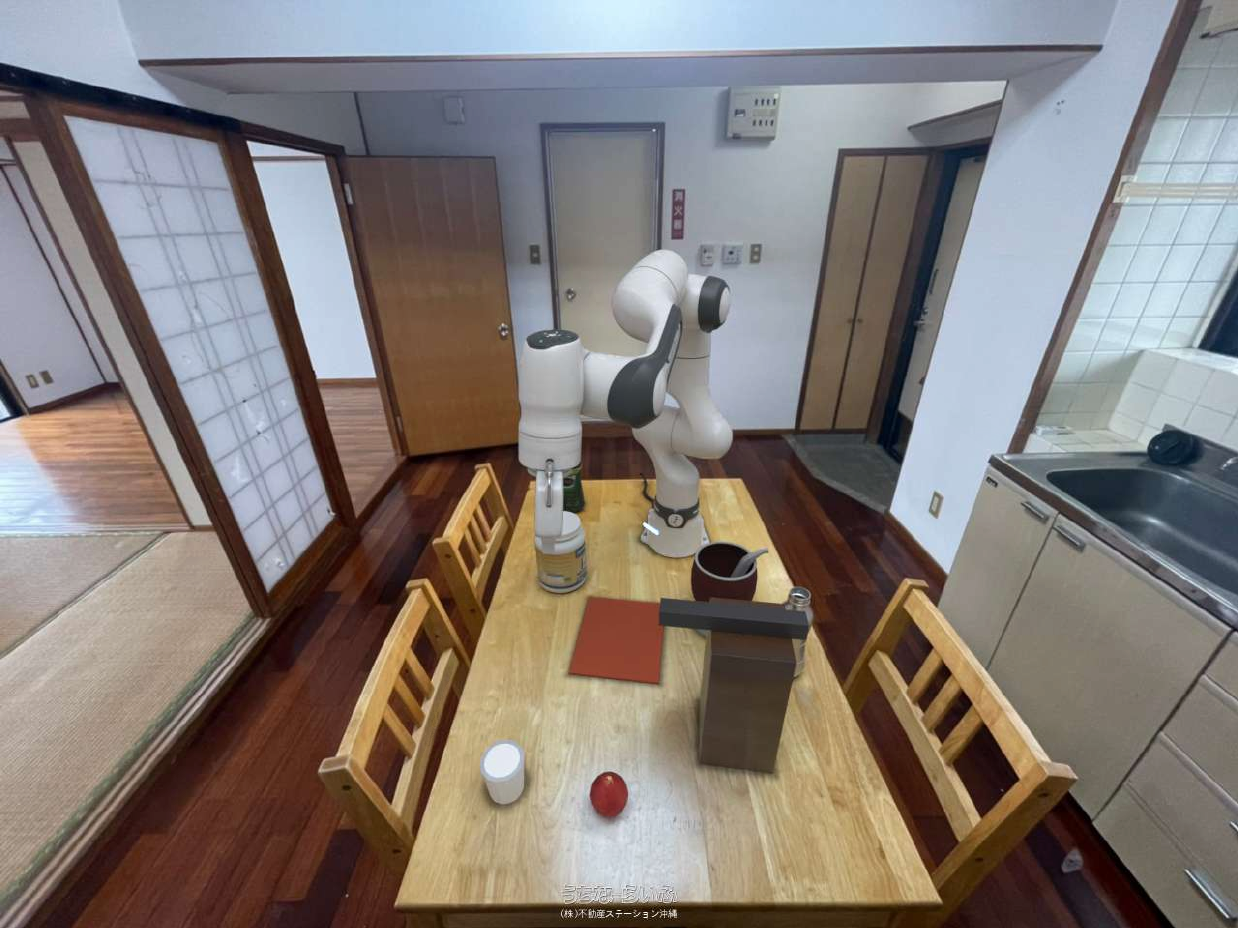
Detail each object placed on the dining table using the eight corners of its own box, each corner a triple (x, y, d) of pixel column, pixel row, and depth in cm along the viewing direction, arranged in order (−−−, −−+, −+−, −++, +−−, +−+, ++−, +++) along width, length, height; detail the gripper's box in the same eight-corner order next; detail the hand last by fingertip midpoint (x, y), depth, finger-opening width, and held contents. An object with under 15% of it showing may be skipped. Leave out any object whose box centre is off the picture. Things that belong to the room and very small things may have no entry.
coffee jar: (584, 499, 162) (582, 446, 154) (584, 513, 155) (582, 458, 147) (553, 500, 162) (549, 447, 153) (552, 514, 155) (548, 459, 146)
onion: (583, 813, 80) (581, 782, 76) (604, 781, 84) (603, 751, 81) (614, 835, 77) (613, 805, 74) (634, 802, 82) (635, 771, 78)
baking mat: (589, 598, 123) (589, 596, 122) (665, 605, 120) (665, 603, 120) (568, 674, 103) (568, 672, 103) (658, 684, 101) (658, 682, 101)
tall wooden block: (699, 702, 97) (710, 597, 85) (764, 709, 96) (784, 603, 84) (699, 763, 87) (711, 653, 75) (772, 773, 85) (796, 662, 73)
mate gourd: (690, 643, 110) (696, 569, 101) (685, 598, 122) (690, 528, 113) (763, 644, 110) (776, 570, 100) (751, 599, 122) (761, 529, 113)
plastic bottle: (804, 685, 101) (822, 607, 91) (768, 679, 102) (782, 602, 93) (800, 659, 106) (817, 583, 97) (766, 654, 107) (780, 579, 98)
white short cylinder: (477, 783, 84) (471, 757, 81) (514, 757, 88) (510, 731, 85) (498, 818, 80) (492, 791, 76) (536, 788, 83) (532, 762, 80)
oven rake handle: (659, 611, 82) (660, 597, 81) (802, 625, 80) (805, 610, 78) (658, 625, 80) (659, 611, 78) (805, 640, 77) (809, 625, 76)
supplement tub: (589, 592, 124) (587, 535, 117) (538, 598, 123) (532, 540, 115) (584, 561, 135) (582, 506, 127) (537, 566, 133) (532, 510, 126)
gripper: (575, 476, 64) (571, 573, 69) (570, 429, 83) (567, 507, 88) (523, 475, 63) (523, 573, 68) (530, 428, 82) (530, 506, 87)
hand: (548, 535), depth 78 cm, fingers open, 8 cm apart
